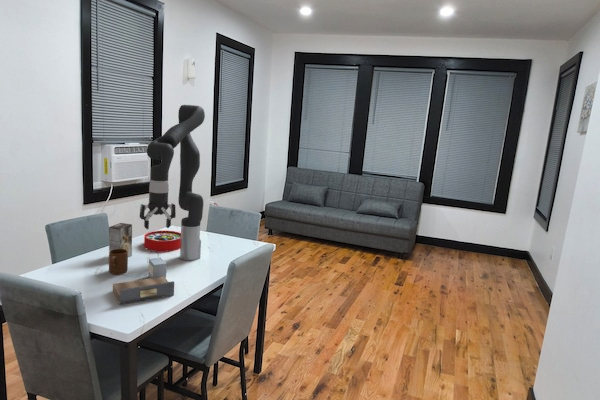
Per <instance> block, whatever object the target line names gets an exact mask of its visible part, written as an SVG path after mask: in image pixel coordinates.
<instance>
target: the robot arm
mask: <svg viewBox="0 0 600 400" xmlns="http://www.w3.org/2000/svg"><path fill="white" fill-rule="evenodd" d="M177 113H178V123H177V124H175V125H173V126H171V127H170V128H169V129H167V131H166V132H165V133H164V134H163V135H161V136H159V137H157V138H155V139H154V140H152V141H151V142H150V143H149V144H148V145H147V148H146V155H147V157H148V158H150V159H151V160H152V159H153V160H159V161H161V162H160V163H159V164H158V165H157V164H156V165H152V166H151V168H150V177H149V178H150V179H149V180H150V181H149V186H148V187H149V188H148V189H149V190H148V192H149V193H148V203H147V204H143V203H141V204H140V209H139V210H140V211H139V219H140V220H144V222H143V227H144V229H146V230H149V225H150V221H149V220H150V219H151V218H152V217H153V216H154V215H155V216H157V215H162V216H163V215H164V216H165V217H166V219H165V222H166V223H165V227H166V228H167V229H170V227H171V226H172V219H175V218H176V212H177V211H176V204H175V203H170V204H169V191H170V190H169V173H170V172H169V170H170V168H171V165H172V164H171V163H172V161H173V159H174V155H175V150H174V149H175V148H177V146H179V144H180V148H179V149H180V151H179V152H180V154H179V166H180V167H179V168H180V169H179V170H180V171H179V178H180V179H179V191H178V205H179V208H180V209H181V210H183V211H187V212H188V213H187V217H186V216H185V217H183V218H182V219H181V221H180V223H181V225H180V233H181V245H180V249H179V250H180V251H179V259H181V260H184V261H195V260H198V259H201V253H202V252H201V248H202V240H201V237H200V236H201V222H202V220H203V214H204V198H203V196H202V194H199V193H195V192H193V182H194V179H195V177H196V175H197V174H198V172H199V169H200V165H201V153H200V149H199V148H198V146H197V145H196V143H195V141H194V139H193V137H192V135H191V133H192V132H193V131H194V130H196V129H197V128H199V127H200V126H201V125H203V123H204V121H205V118H206V115H205V109H204V108H203V107H202V106H200V105H192V104H182V105H180V106H179V109H178V112H177ZM168 208H169V209H170V214H169V213H168ZM147 209H149V210H148V211H147V212H146V213H145V211H146V210H147Z"/></svg>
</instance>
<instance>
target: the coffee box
mask: <svg viewBox="0 0 600 400" xmlns="http://www.w3.org/2000/svg"><path fill="white" fill-rule="evenodd" d="M108 248H109V249H108V253H109V252H110V251H111V250H114V249H125V250H127V251H128V258H129V257H131V256H133V224H132V223H125V222H120V223H119V222H118V223H117V224H114V225H110V226H109V227H108Z"/></svg>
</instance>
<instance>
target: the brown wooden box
mask: <svg viewBox="0 0 600 400" xmlns="http://www.w3.org/2000/svg"><path fill="white" fill-rule="evenodd" d="M166 278H167V277H166ZM166 278H165V277H164V276H163V277H157V278H150V277H149V278H144V279H137V280H131V281H123V282H118V283H112V292H113V295H114V296H115V298H116V301H117V302H118V303H119V305H120V306H122V305H127V304H132V303H140V302H144V301H149V300H155V299H159V298H160V299H161V298H165V297H167V298H168V297H173V296H174V295H175V281H174V280H173V281H168V279H166Z"/></svg>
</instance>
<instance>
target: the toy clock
mask: <svg viewBox="0 0 600 400" xmlns="http://www.w3.org/2000/svg"><path fill="white" fill-rule="evenodd" d="M143 238H144V240H143V241H144V242H143V244H144V245H143V246H144V248H145V249H146V250H148V251H153V252H175V251H178V250H180V245H181V232H178V231H175V230H153V231H150V232H147V233H145V234H144V237H143Z"/></svg>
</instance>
